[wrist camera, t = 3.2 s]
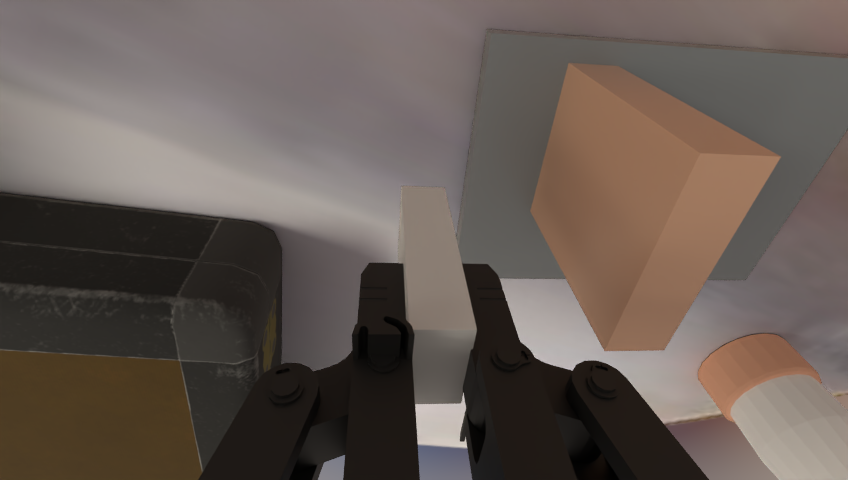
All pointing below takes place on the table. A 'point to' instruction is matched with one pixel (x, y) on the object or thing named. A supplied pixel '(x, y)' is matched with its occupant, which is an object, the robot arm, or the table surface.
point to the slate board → (670, 72)
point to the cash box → (128, 337)
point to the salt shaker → (779, 407)
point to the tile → (640, 201)
